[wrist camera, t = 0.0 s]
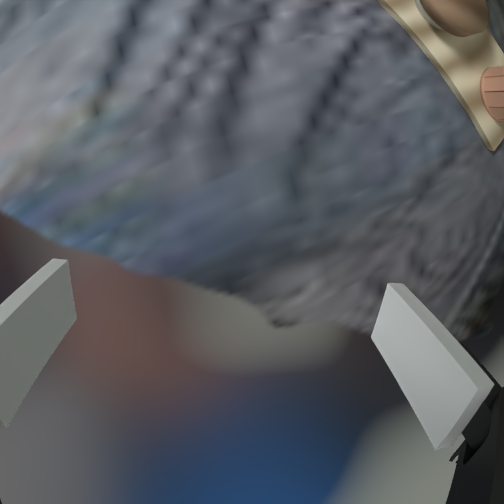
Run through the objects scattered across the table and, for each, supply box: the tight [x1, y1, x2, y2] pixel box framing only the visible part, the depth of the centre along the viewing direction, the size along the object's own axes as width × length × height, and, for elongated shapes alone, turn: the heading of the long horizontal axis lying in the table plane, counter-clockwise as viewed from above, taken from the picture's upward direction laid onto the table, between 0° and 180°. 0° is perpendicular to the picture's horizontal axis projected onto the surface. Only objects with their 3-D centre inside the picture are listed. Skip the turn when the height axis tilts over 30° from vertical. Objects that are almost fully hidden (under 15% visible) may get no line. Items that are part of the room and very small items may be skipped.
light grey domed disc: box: [415, 0, 445, 31], centre depth 27 cm, size 8×8×3 cm
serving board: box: [377, 0, 504, 151], centre depth 31 cm, size 28×15×2 cm, turn 47°
